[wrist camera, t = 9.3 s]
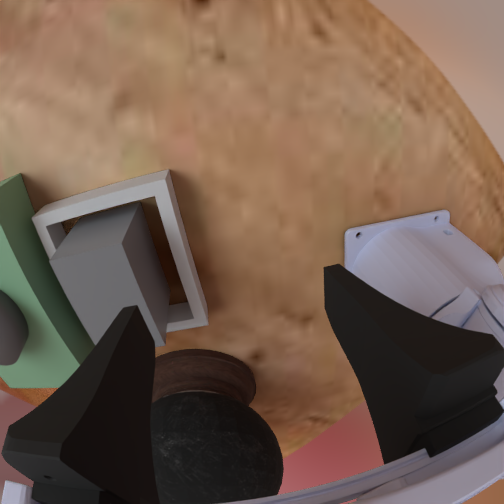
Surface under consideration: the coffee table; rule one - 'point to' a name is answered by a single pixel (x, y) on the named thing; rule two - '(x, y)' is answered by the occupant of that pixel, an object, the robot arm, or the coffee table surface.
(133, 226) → the chute block
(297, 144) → the coffee table surface
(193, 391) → the black ball on stand
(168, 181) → the green block with dome
